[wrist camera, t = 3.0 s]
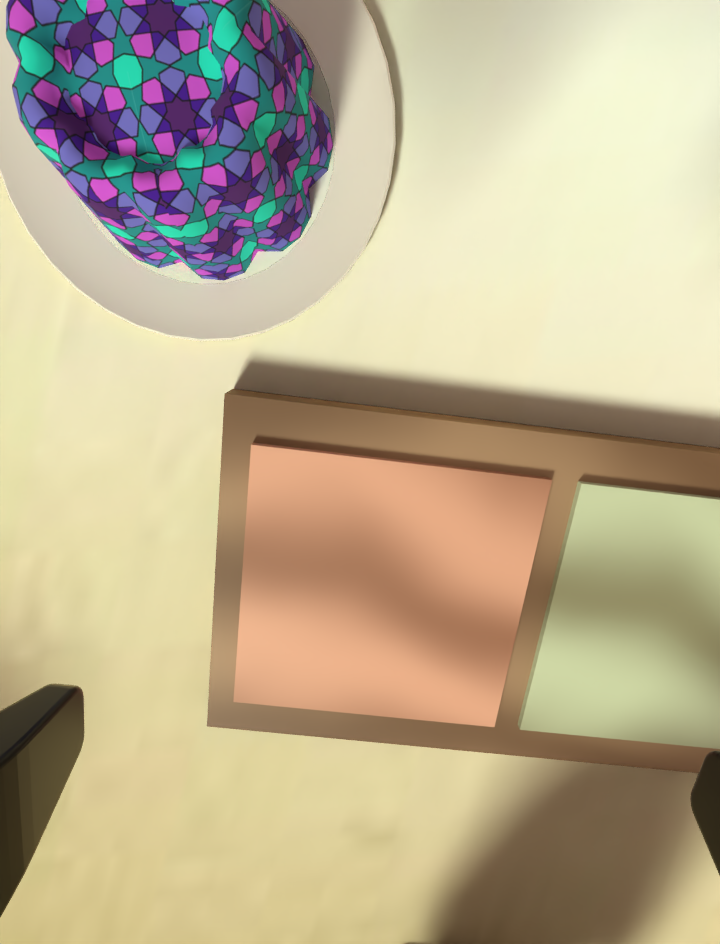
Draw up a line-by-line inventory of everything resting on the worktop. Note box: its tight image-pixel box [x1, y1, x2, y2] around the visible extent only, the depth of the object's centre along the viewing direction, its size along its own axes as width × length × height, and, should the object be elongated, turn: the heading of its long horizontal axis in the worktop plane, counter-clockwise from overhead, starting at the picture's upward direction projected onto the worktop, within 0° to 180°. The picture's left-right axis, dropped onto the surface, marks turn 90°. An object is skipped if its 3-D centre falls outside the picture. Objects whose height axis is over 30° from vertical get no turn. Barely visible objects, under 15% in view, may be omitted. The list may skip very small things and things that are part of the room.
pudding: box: [0, 0, 396, 341], centre depth 14 cm, size 12×12×5 cm
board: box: [207, 389, 720, 773], centre depth 20 cm, size 13×23×2 cm, turn 83°
